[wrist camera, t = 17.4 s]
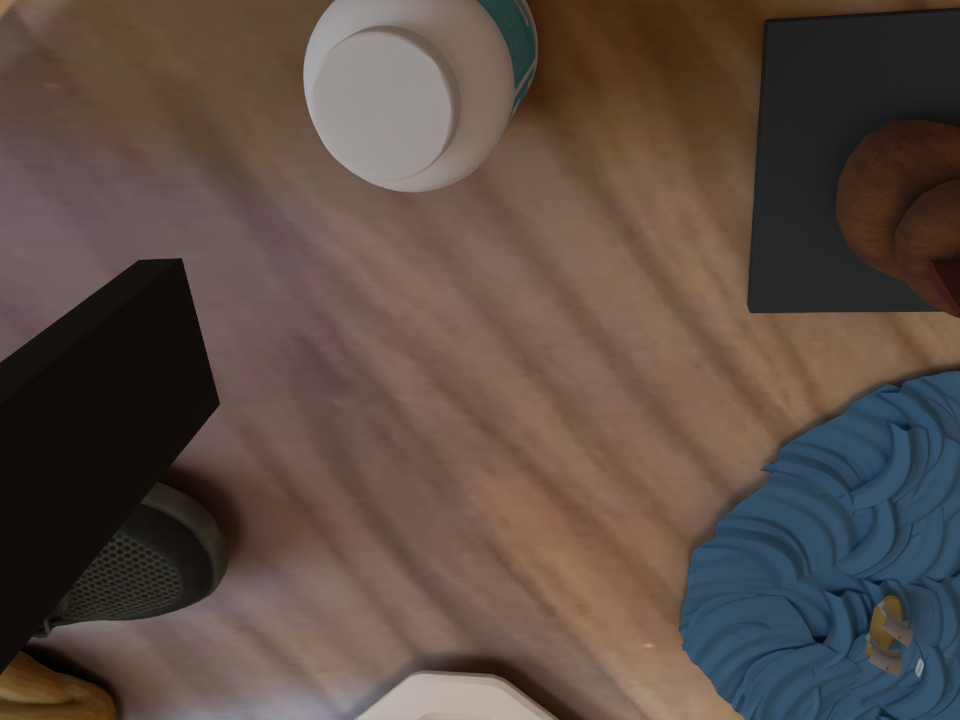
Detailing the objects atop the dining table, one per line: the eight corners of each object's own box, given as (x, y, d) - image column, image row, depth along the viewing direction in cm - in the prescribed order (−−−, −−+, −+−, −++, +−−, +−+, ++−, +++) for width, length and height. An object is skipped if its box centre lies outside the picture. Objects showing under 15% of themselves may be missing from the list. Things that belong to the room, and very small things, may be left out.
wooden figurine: (799, 217, 40) (881, 372, 27) (853, 88, 37) (973, 189, 24) (948, 256, 40) (1105, 432, 26) (1013, 129, 37) (1224, 254, 24)
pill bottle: (375, -49, 38) (258, -30, 27) (546, -41, 38) (504, -17, 26) (378, 125, 42) (276, 212, 30) (534, 137, 41) (493, 231, 29)
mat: (764, 19, 37) (767, 22, 36) (1079, 0, 35) (1091, 2, 34) (747, 305, 43) (749, 313, 42) (1017, 302, 41) (1025, 311, 40)
